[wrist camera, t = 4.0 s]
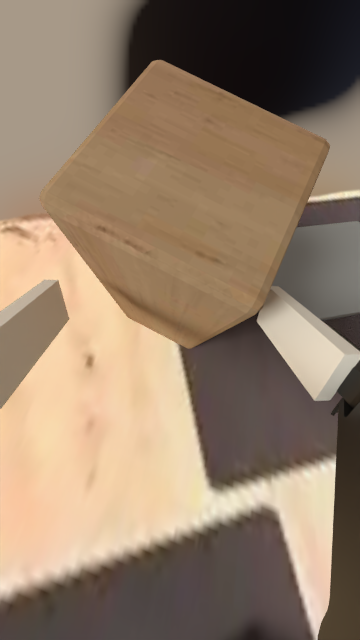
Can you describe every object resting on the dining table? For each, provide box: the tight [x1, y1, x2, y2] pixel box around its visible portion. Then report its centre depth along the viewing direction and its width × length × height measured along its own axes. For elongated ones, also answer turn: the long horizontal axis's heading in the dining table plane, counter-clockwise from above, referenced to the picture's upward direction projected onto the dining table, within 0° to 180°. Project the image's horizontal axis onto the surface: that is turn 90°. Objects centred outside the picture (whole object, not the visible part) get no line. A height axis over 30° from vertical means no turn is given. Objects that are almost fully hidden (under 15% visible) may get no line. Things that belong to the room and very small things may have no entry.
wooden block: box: [39, 60, 330, 349], centre depth 18 cm, size 10×10×20 cm
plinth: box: [272, 221, 360, 321], centre depth 28 cm, size 16×13×4 cm
